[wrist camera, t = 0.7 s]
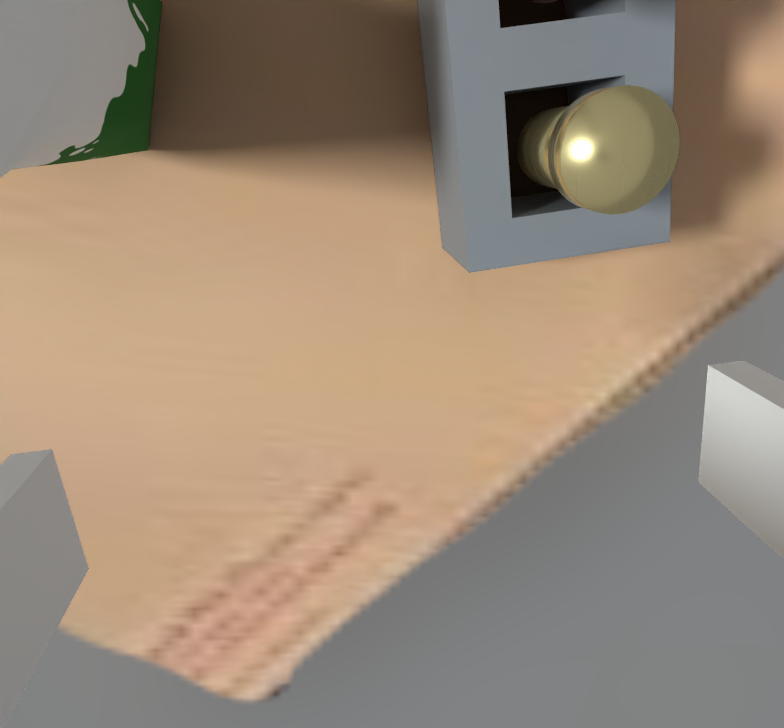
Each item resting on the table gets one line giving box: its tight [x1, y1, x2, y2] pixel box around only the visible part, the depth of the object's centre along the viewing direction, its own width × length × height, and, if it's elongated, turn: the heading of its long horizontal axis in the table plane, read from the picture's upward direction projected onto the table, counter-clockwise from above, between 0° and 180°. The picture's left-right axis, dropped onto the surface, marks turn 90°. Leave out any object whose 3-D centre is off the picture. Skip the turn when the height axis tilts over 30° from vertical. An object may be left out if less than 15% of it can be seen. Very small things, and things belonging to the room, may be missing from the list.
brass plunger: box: [517, 85, 680, 215], centre depth 27 cm, size 5×5×7 cm
